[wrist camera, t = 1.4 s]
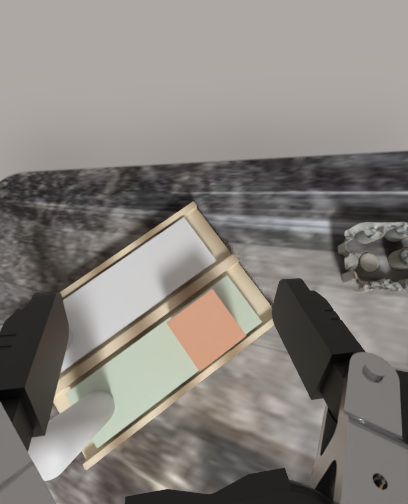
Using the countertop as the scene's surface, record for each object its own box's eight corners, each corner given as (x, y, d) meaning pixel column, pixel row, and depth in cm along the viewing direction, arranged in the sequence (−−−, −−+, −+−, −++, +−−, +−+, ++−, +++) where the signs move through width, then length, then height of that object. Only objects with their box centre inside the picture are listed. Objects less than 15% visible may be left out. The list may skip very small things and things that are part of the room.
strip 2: (226, 276, 33) (237, 257, 22) (260, 321, 32) (288, 324, 21) (69, 391, 31) (-3, 432, 20) (100, 444, 30) (42, 516, 19)
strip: (184, 219, 35) (175, 176, 24) (215, 261, 34) (221, 236, 23) (30, 325, 32) (-57, 331, 21) (59, 374, 31) (-18, 405, 20)
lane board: (194, 207, 36) (193, 201, 34) (278, 318, 34) (282, 318, 32) (16, 328, 33) (5, 329, 31) (93, 460, 31) (85, 470, 29)
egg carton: (339, 293, 34) (356, 291, 30) (333, 230, 36) (349, 219, 32) (433, 293, 34) (463, 290, 30) (423, 229, 36) (450, 219, 32)
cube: (211, 292, 32) (212, 288, 27) (240, 332, 31) (246, 335, 26) (172, 321, 31) (166, 322, 26) (200, 362, 30) (199, 371, 26)
